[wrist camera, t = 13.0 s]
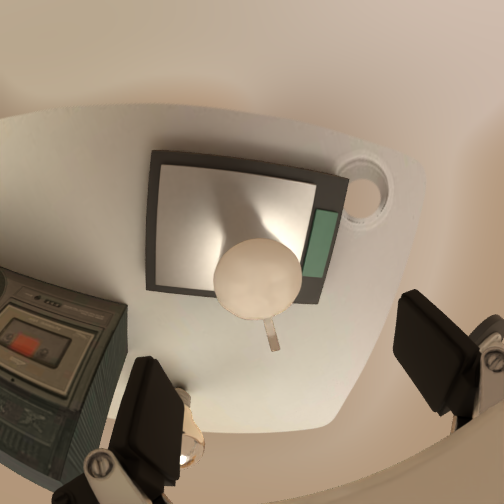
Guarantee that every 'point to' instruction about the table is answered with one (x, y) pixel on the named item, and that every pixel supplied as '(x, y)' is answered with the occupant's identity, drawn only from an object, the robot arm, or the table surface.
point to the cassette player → (55, 376)
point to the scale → (228, 207)
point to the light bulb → (190, 435)
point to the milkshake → (256, 273)
